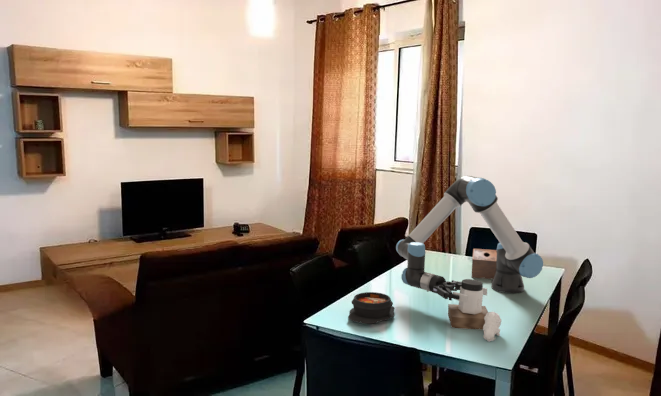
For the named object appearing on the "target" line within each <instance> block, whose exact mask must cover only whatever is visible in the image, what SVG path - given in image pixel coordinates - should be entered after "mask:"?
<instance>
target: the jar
mask: <svg viewBox="0 0 661 396" xmlns="http://www.w3.org/2000/svg"><path fill="white" fill-rule="evenodd" d="M461 282H462V284H461V287H460V290H459V293H460V294H464V295H467V296H468V303H466V302H462V301H459V300H458V305H459V308H458V309H459V310H460V311H462V312H463V313H467V314H473V315H475V314H478V313H481V310H482V306H483V297H484V295H483V290H482V287H483V288H484V284H483V282H482V281H480V280H478V279H477V280H476V279H472V278H471V279H470V278H466V279H462V280H461Z"/></svg>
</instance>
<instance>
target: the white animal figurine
mask: <svg viewBox="0 0 661 396" xmlns="http://www.w3.org/2000/svg"><path fill="white" fill-rule="evenodd" d="M484 320H485V324H484V326H483V335H482V337H483V338H484V340H487V342H492V341H493V342H494V341H495V340H496V338H497V337H496V336H498V337H499V336H500V335H501V329H500V326H501V324H502V319H501V316H500V314H499V313H497V312H495V311H488V313H487V314H486V316H485V317H484ZM495 335H496V336H495Z"/></svg>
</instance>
